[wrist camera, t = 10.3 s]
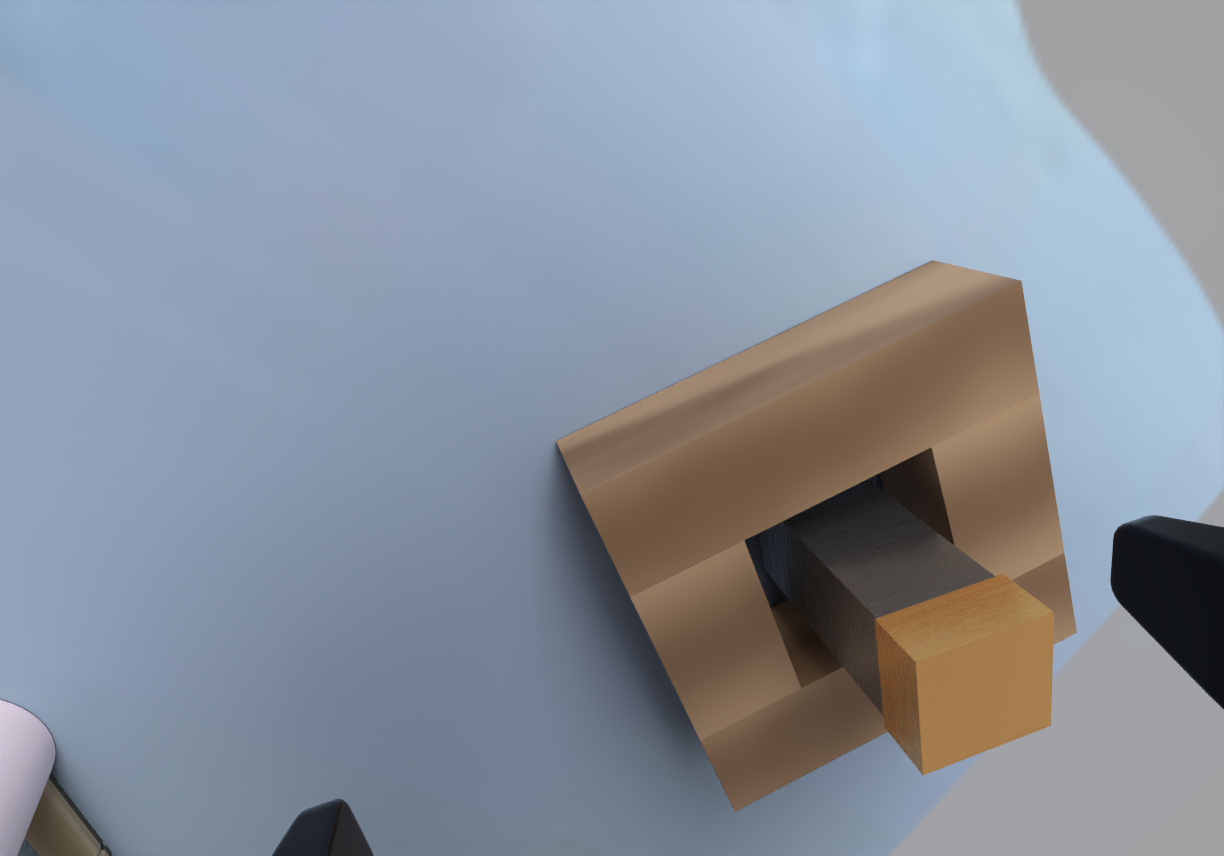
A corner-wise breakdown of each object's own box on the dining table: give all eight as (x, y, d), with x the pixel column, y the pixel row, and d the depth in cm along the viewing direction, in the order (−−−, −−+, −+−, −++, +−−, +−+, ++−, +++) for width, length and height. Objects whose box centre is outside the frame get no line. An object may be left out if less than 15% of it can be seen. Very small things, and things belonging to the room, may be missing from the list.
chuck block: (997, 573, 26) (1076, 632, 23) (695, 728, 26) (735, 811, 22) (932, 260, 21) (1021, 280, 18) (555, 440, 21) (580, 495, 18)
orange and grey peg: (842, 455, 23) (1053, 611, 15) (851, 541, 24) (1050, 725, 17) (747, 486, 23) (915, 662, 15) (761, 571, 24) (923, 775, 16)
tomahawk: (331, 905, 26) (331, 935, 25) (130, 996, 25) (121, 1032, 24) (-1, 347, 17) (-22, 359, 16) (-340, 439, 16) (-385, 459, 15)
